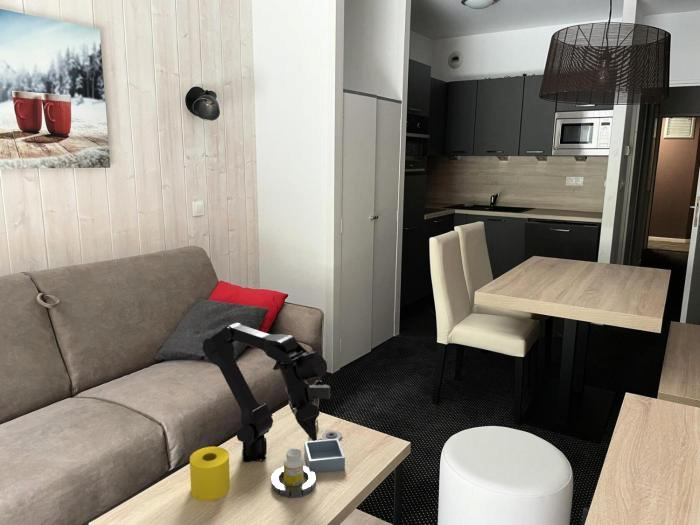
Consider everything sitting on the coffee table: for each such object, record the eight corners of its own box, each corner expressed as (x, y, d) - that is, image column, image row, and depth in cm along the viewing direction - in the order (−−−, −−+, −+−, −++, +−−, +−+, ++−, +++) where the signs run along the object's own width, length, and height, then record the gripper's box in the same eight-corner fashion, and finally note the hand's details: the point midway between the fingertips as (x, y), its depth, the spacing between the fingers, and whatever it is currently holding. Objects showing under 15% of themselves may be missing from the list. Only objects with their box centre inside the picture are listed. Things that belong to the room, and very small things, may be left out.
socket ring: (273, 500, 139) (273, 493, 139) (270, 473, 151) (270, 467, 150) (318, 495, 142) (318, 488, 142) (311, 469, 153) (311, 463, 153)
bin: (309, 473, 151) (309, 461, 150) (304, 453, 161) (304, 441, 160) (344, 470, 153) (345, 457, 153) (337, 450, 163) (338, 438, 162)
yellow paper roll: (190, 503, 137) (189, 470, 135) (191, 480, 147) (190, 449, 145) (230, 497, 140) (230, 465, 138) (228, 475, 149) (228, 444, 148)
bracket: (336, 445, 167) (336, 435, 166) (307, 438, 171) (307, 428, 170) (345, 435, 173) (345, 425, 172) (317, 428, 177) (317, 418, 176)
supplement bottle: (299, 492, 143) (299, 459, 141) (280, 488, 144) (280, 456, 142) (306, 480, 148) (306, 448, 146) (288, 476, 150) (288, 445, 148)
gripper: (328, 376, 139) (347, 433, 139) (317, 367, 157) (334, 418, 157) (287, 391, 137) (306, 449, 137) (281, 380, 155) (298, 432, 155)
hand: (312, 436), depth 146 cm, fingers open, 9 cm apart
